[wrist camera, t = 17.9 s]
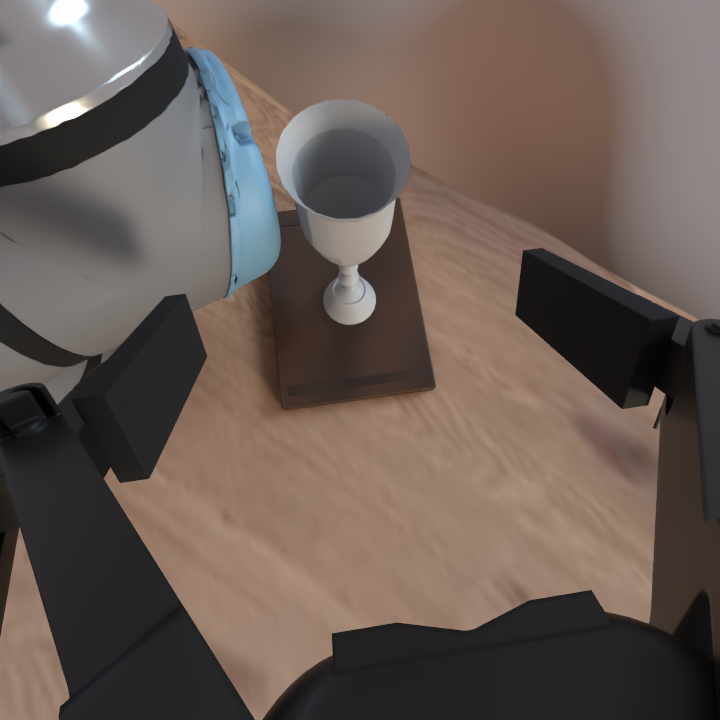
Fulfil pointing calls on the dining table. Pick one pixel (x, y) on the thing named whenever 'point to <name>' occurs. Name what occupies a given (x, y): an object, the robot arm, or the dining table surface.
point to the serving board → (347, 342)
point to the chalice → (344, 191)
